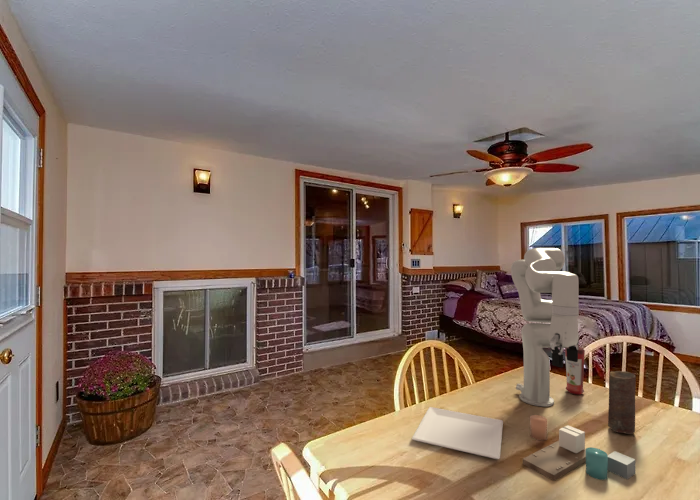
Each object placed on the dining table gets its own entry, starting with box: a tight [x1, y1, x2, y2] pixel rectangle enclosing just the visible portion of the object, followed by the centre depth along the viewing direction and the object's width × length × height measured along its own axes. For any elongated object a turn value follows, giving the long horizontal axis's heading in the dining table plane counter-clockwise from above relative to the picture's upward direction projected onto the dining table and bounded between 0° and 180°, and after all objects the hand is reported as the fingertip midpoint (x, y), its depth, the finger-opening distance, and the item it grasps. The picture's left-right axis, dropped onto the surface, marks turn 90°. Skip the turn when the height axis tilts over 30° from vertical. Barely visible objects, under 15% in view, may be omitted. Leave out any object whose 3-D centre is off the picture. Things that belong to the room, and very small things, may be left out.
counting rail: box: [522, 440, 586, 482], centre depth 106 cm, size 9×21×2 cm, turn 122°
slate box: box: [607, 450, 637, 480], centre depth 100 cm, size 5×5×4 cm
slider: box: [558, 424, 586, 453], centre depth 110 cm, size 5×5×5 cm
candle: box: [607, 370, 637, 435], centre depth 123 cm, size 8×7×20 cm
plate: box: [411, 406, 504, 460], centre depth 121 cm, size 26×26×2 cm
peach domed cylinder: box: [529, 414, 548, 441], centre depth 119 cm, size 5×5×6 cm
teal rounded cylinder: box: [585, 447, 609, 481], centre depth 99 cm, size 5×5×6 cm
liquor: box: [564, 343, 586, 396], centre depth 156 cm, size 7×7×28 cm
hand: (565, 363), depth 117 cm, fingers open, 9 cm apart
